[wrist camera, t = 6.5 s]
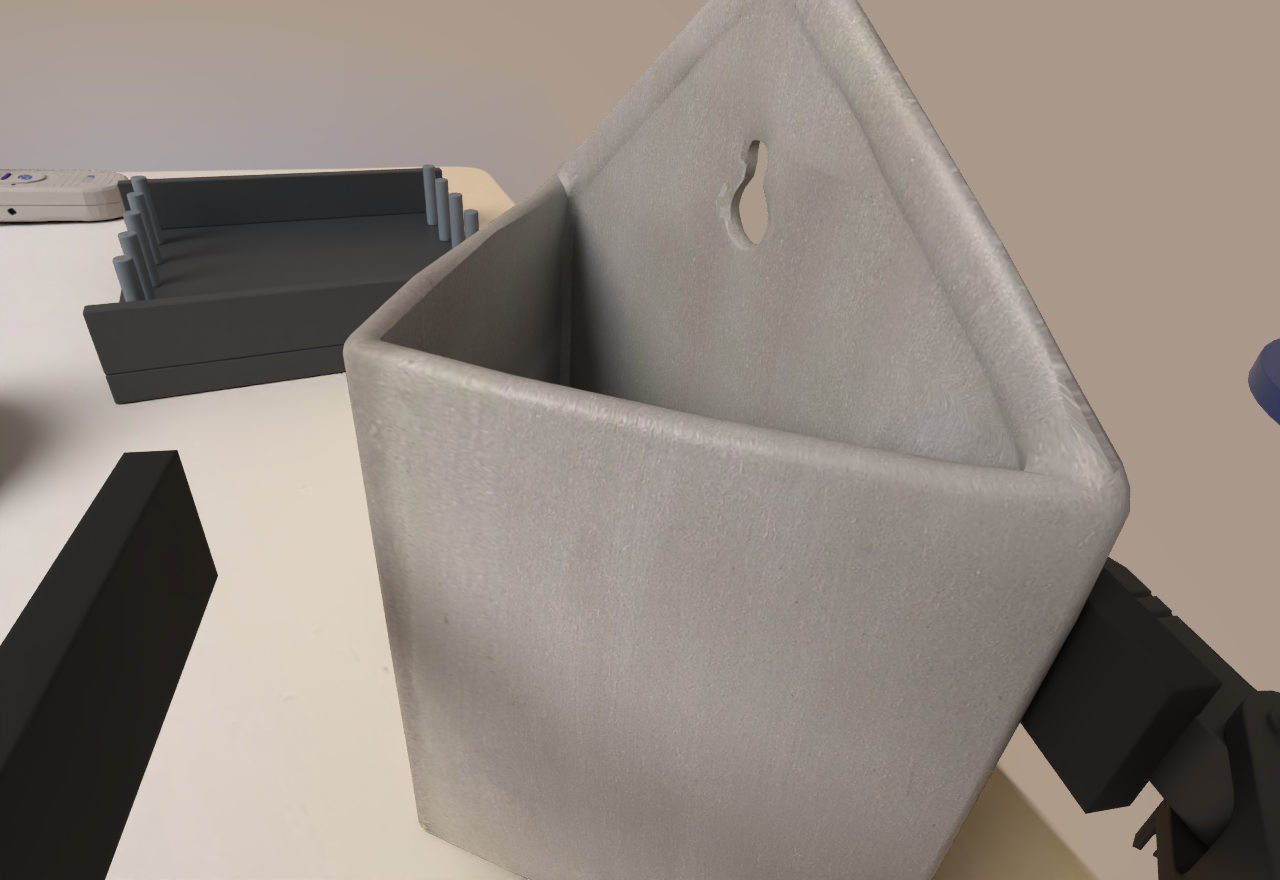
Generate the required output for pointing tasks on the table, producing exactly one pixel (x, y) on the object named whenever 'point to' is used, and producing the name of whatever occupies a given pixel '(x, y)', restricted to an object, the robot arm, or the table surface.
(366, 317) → the dish rack
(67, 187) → the electronic device
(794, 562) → the planter
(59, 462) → the table surface
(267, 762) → the table surface
